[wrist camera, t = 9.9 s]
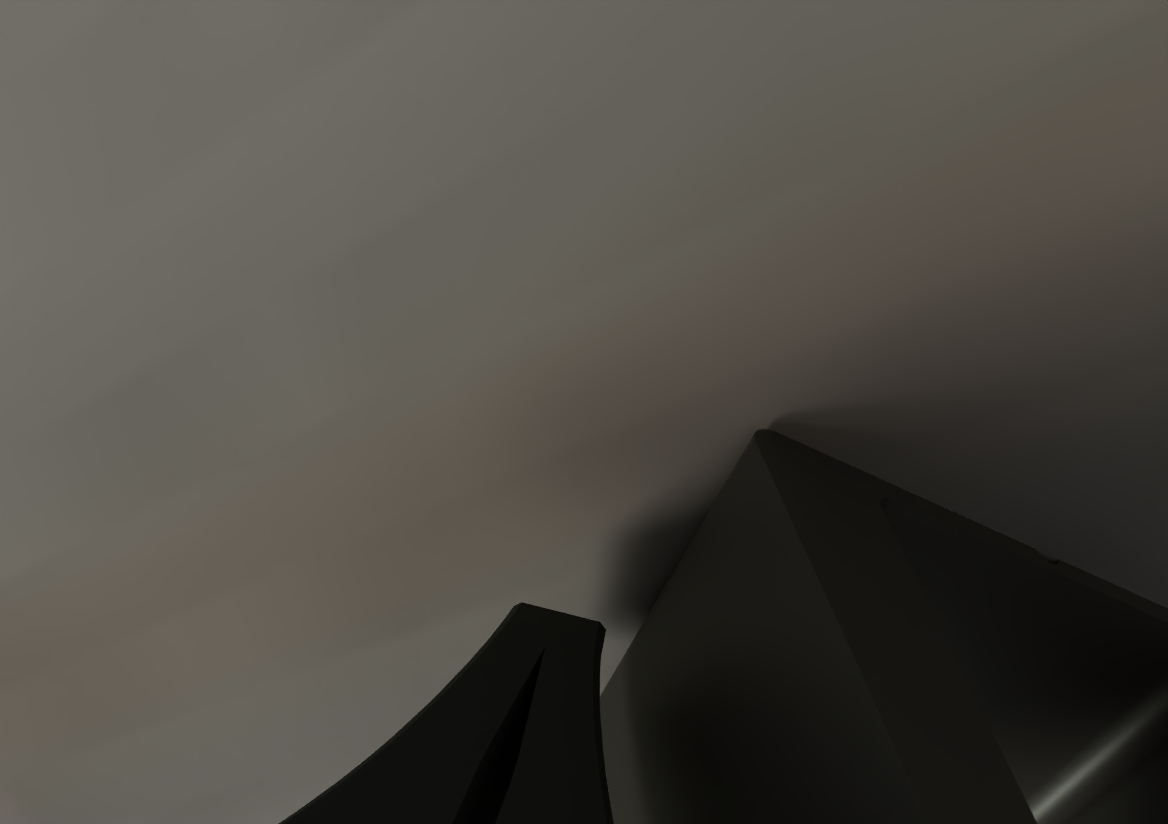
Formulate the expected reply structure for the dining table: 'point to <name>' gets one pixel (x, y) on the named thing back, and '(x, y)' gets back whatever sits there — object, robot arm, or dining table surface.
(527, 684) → the robot arm
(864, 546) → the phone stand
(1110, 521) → the dining table surface
